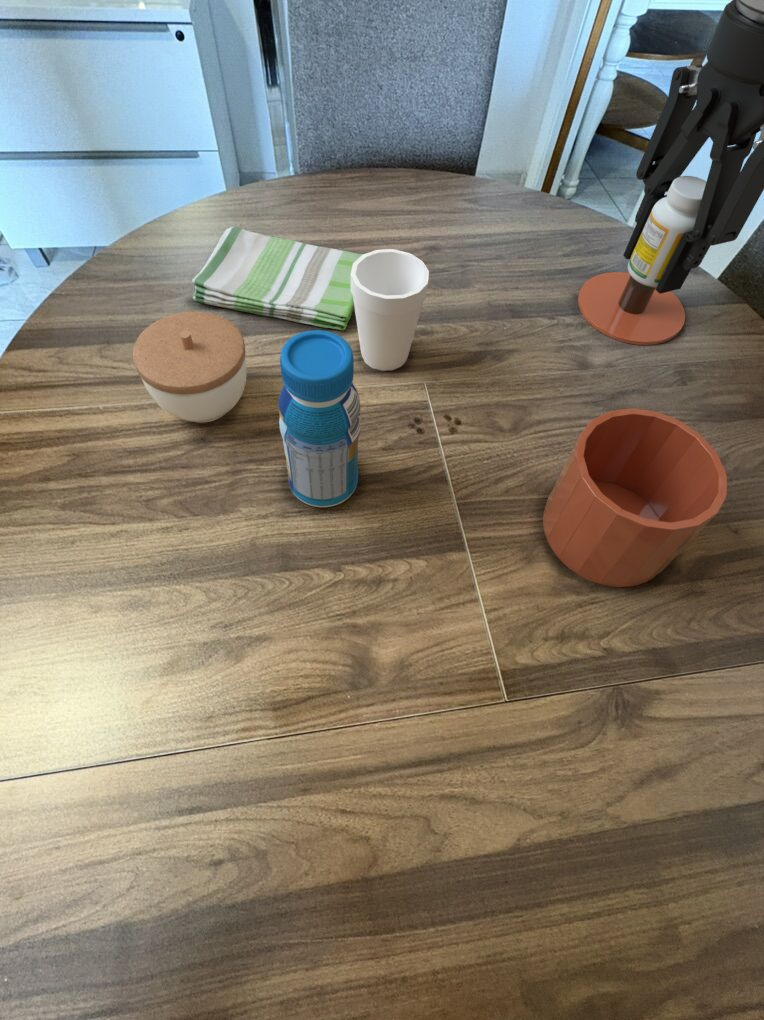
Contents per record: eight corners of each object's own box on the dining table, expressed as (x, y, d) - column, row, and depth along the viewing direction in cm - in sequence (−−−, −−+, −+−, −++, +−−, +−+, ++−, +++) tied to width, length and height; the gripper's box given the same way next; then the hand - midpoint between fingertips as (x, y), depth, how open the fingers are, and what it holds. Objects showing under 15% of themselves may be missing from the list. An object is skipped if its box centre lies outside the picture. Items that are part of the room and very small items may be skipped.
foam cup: (395, 389, 81) (403, 309, 70) (337, 361, 83) (335, 279, 72) (430, 348, 85) (442, 266, 75) (374, 322, 88) (378, 239, 77)
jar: (621, 463, 76) (665, 393, 66) (696, 562, 69) (759, 501, 58) (519, 498, 72) (548, 430, 62) (587, 606, 65) (634, 550, 55)
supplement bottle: (621, 279, 66) (659, 192, 58) (632, 252, 69) (670, 165, 60) (671, 295, 65) (717, 208, 57) (680, 267, 67) (725, 180, 59)
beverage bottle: (310, 522, 69) (298, 400, 52) (274, 471, 73) (253, 341, 56) (372, 490, 72) (381, 365, 55) (335, 442, 76) (332, 310, 59)
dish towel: (231, 236, 97) (227, 215, 94) (373, 261, 95) (374, 240, 92) (190, 306, 88) (185, 285, 85) (347, 335, 86) (347, 315, 83)
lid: (640, 269, 97) (670, 205, 88) (703, 333, 90) (742, 270, 81) (557, 290, 94) (579, 225, 85) (615, 359, 86) (646, 295, 77)
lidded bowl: (187, 355, 82) (166, 285, 73) (271, 383, 80) (261, 315, 71) (133, 420, 76) (103, 353, 67) (223, 453, 74) (205, 388, 65)
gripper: (666, -32, 50) (576, 229, 70) (828, 68, 41) (674, 335, 61) (738, -38, 52) (631, 218, 72) (908, 55, 43) (733, 318, 63)
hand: (651, 271), depth 66 cm, fingers closed on supplement bottle, 5 cm apart
